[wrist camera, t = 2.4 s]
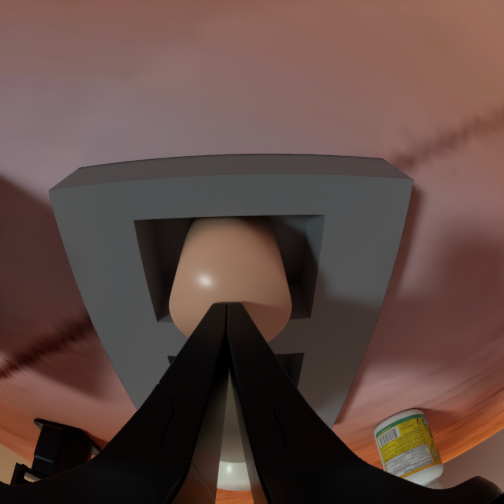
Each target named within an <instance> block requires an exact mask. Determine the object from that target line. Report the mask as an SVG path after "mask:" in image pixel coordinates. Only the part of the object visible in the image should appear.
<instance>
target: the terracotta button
mask: <svg viewBox="0 0 504 504" xmlns="http://www.w3.org/2000/svg"><path fill="white" fill-rule="evenodd" d="M230 302H241V303H242V304H243V305H244V307H245V309H246V310H247V312H248V313H249V315H250V317H251V318H252V320H253V321H254V323H255V324H256V326H257V328H258V329H259V331H260V332H261V334H262V335H263V337H264V339H265V340H266V342H268V341H270V340H272V339H273V338H274V337H276V336H277V335H278V334H279V333H280V332H281V331H282V330H283V329H284V327H285V326H286V324H287V322H288V321H289V318H290V315H291V310H292V302H291V296H290V292H289V288H288V283H287V279H286V275H285V270H284V266H283V262H282V258H281V253H280V249H279V245H278V241H277V237H276V232H275V229H274V226H273V225H272V223H271V221H270V220H269V218H268V217H267V216H266V215H252V216H216V217H195V218H194V219H193V220H192V222H191V224H190V226H189V228H188V231H187V235H186V238H185V242H184V245H183V249H182V253H181V256H180V260H179V264H178V268H177V272H176V276H175V279H174V283H173V287H172V291H171V296H170V300H169V309H170V314H171V317H172V319H173V321H174V323H175V325H176V326H177V328H178V329H179V330H180V331H181V332H182V333H183V334H184V335H185V336H186V337H187V338H189V337H190V335H191V334H192V332H193V331H194V329H195V328H196V327H197V325H198V324H199V322H200V321H201V319H202V318H203V316H204V315H205V314H206V312H207V311H208V309H209V308H210V306H211V305H212V304H213V303H226V304H228V303H230Z"/></svg>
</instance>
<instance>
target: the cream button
mask: <svg viewBox="0 0 504 504" xmlns="http://www.w3.org/2000/svg"><path fill="white" fill-rule="evenodd" d="M217 488H220V489H225V490H233V491H249V490H251V487H250V482H249V477H248V472H247V467H246V463H230V462H221V461H220V463H219V472H218V482H217Z"/></svg>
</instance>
